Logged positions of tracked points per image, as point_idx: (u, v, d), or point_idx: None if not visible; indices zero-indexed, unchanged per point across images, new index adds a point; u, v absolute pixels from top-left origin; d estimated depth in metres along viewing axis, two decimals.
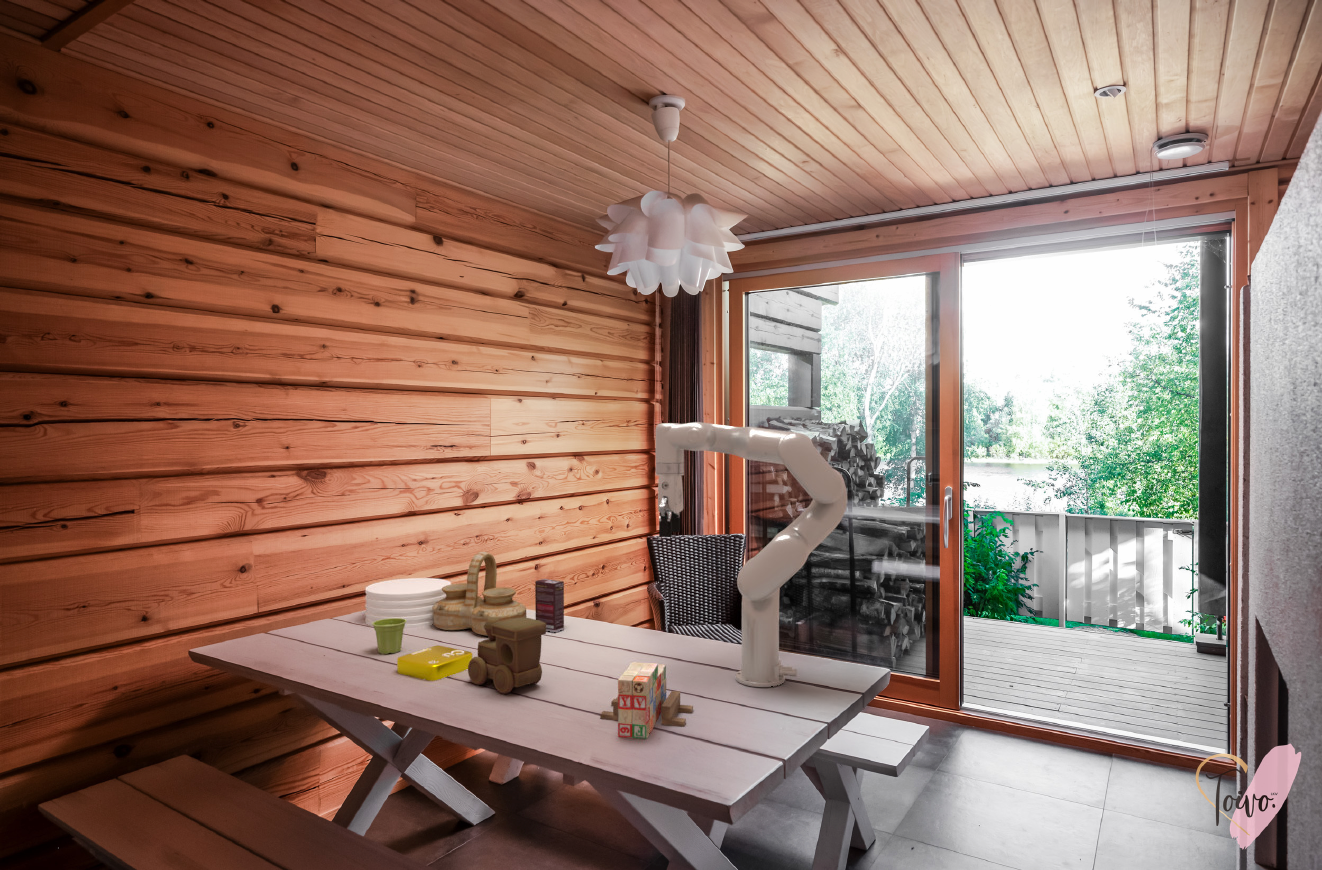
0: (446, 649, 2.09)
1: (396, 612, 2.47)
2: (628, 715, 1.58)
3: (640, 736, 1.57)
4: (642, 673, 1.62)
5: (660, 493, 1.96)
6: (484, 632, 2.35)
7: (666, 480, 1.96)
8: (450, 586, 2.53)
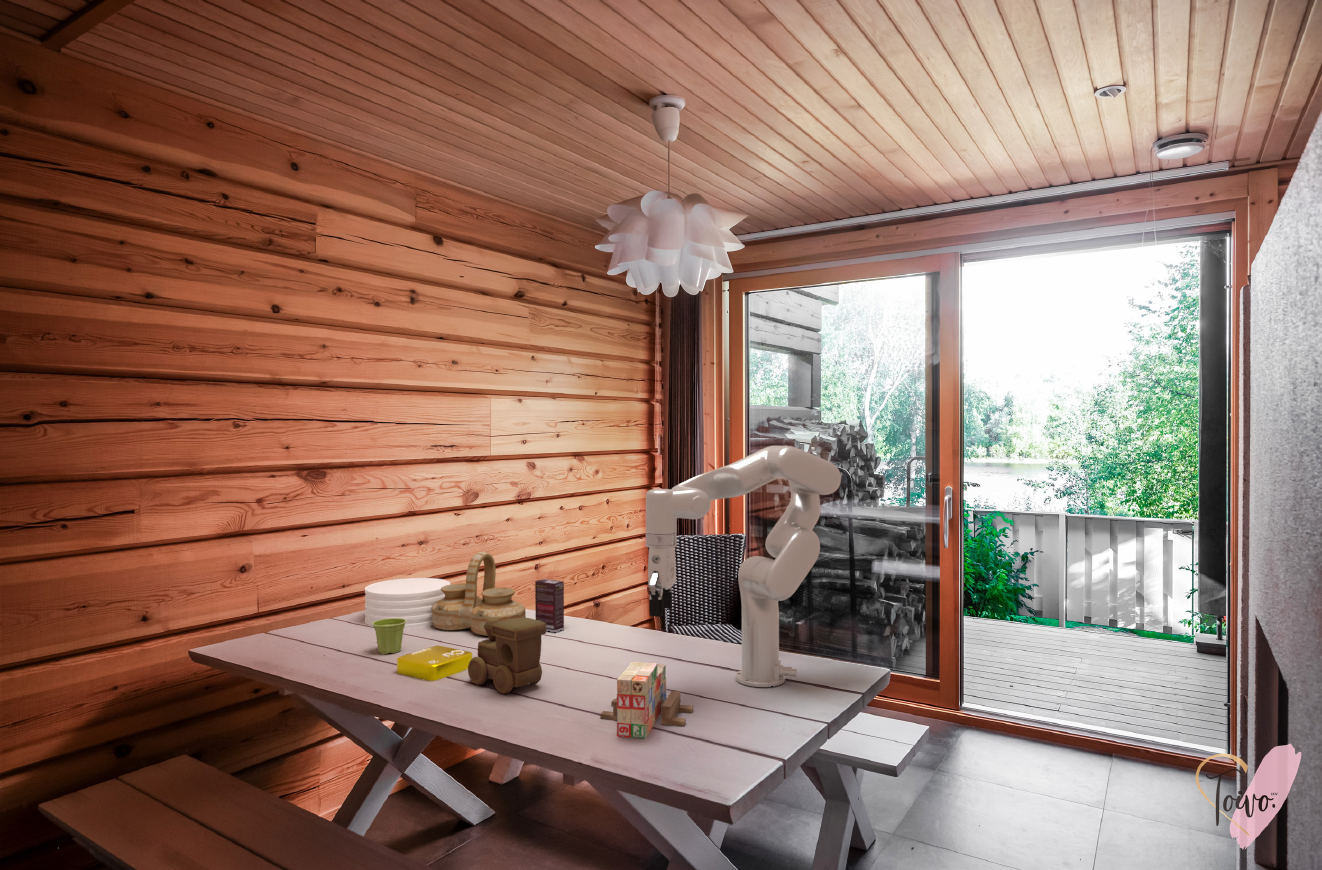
0: (446, 649, 2.09)
1: (395, 612, 2.47)
2: (627, 715, 1.58)
3: (639, 736, 1.57)
4: (641, 673, 1.62)
5: (650, 568, 1.79)
6: (483, 632, 2.35)
7: (657, 553, 1.79)
8: (449, 586, 2.53)
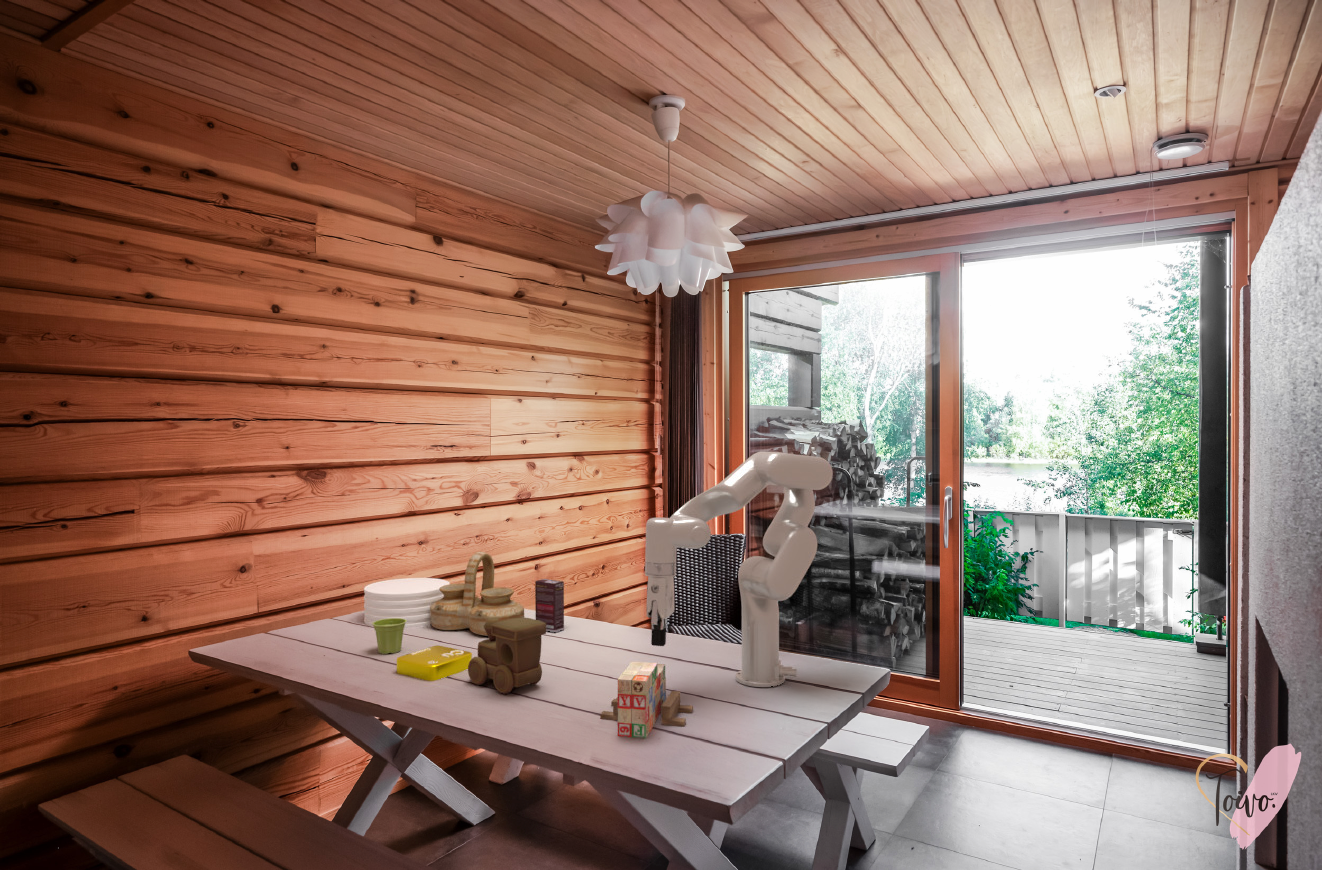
0: (446, 649, 2.09)
1: (395, 612, 2.47)
2: (627, 715, 1.58)
3: (640, 735, 1.58)
4: (642, 672, 1.62)
5: (649, 597, 1.79)
6: (482, 632, 2.35)
7: (656, 583, 1.79)
8: (447, 586, 2.53)
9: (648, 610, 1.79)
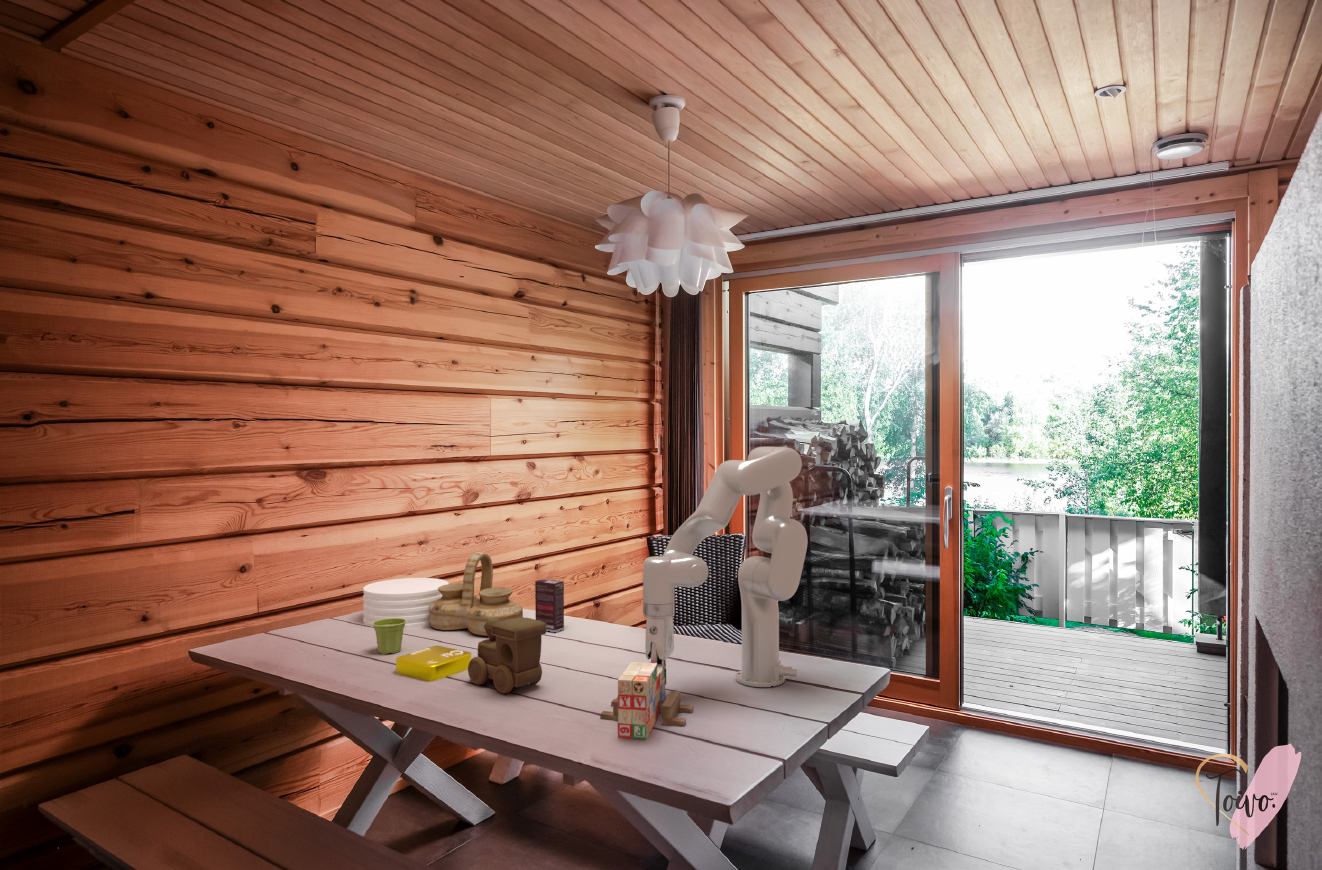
0: (445, 649, 2.09)
1: (394, 612, 2.47)
2: (628, 715, 1.57)
3: (640, 736, 1.57)
4: (642, 673, 1.61)
5: (648, 639, 1.77)
6: (481, 632, 2.35)
7: (654, 624, 1.76)
8: (446, 586, 2.53)
9: (647, 652, 1.77)
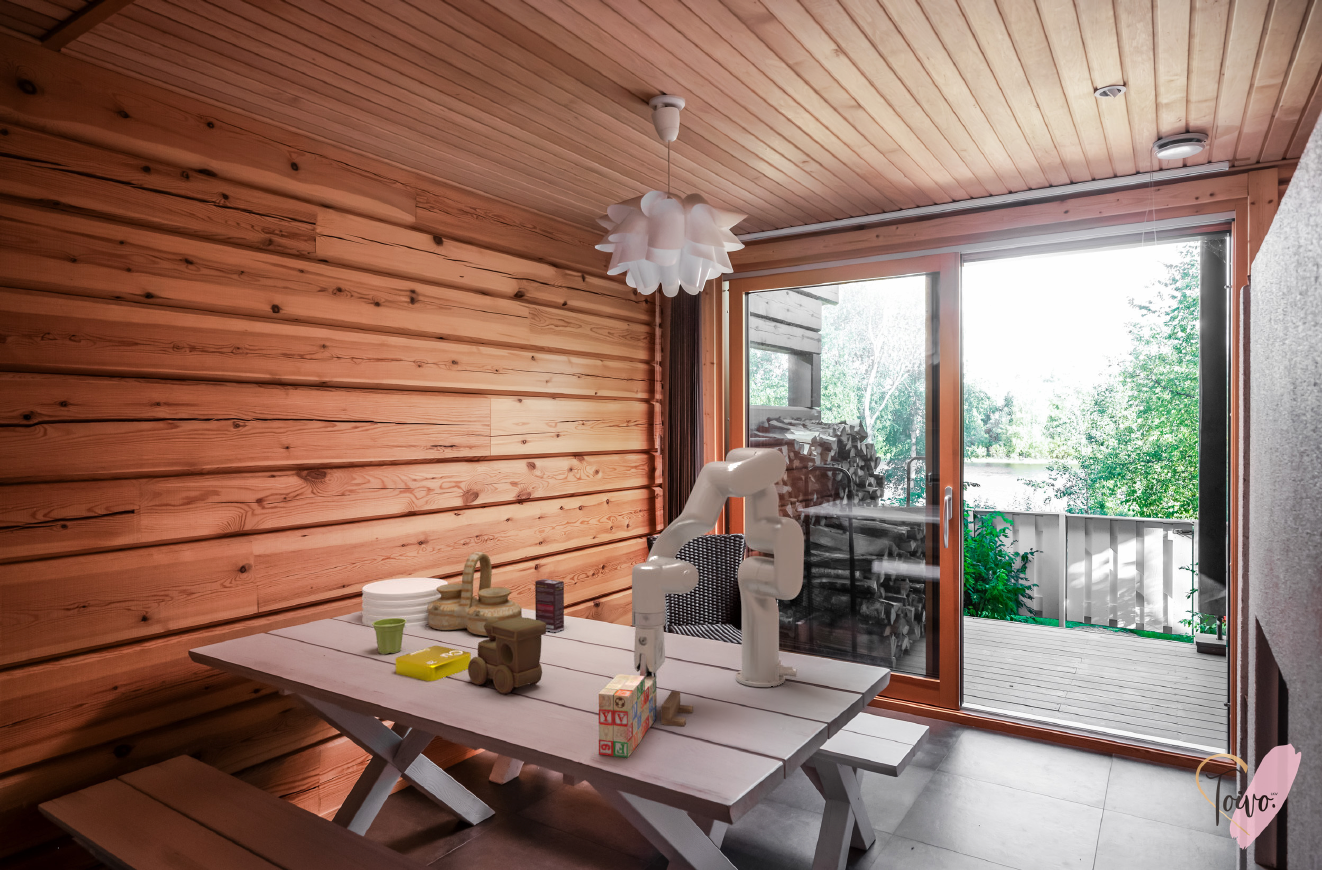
0: (445, 649, 2.08)
1: (393, 612, 2.47)
2: (609, 732, 1.49)
3: (621, 754, 1.48)
4: (626, 686, 1.52)
5: (637, 650, 1.67)
6: (480, 632, 2.35)
7: (644, 634, 1.67)
8: (445, 586, 2.54)
9: (636, 664, 1.67)
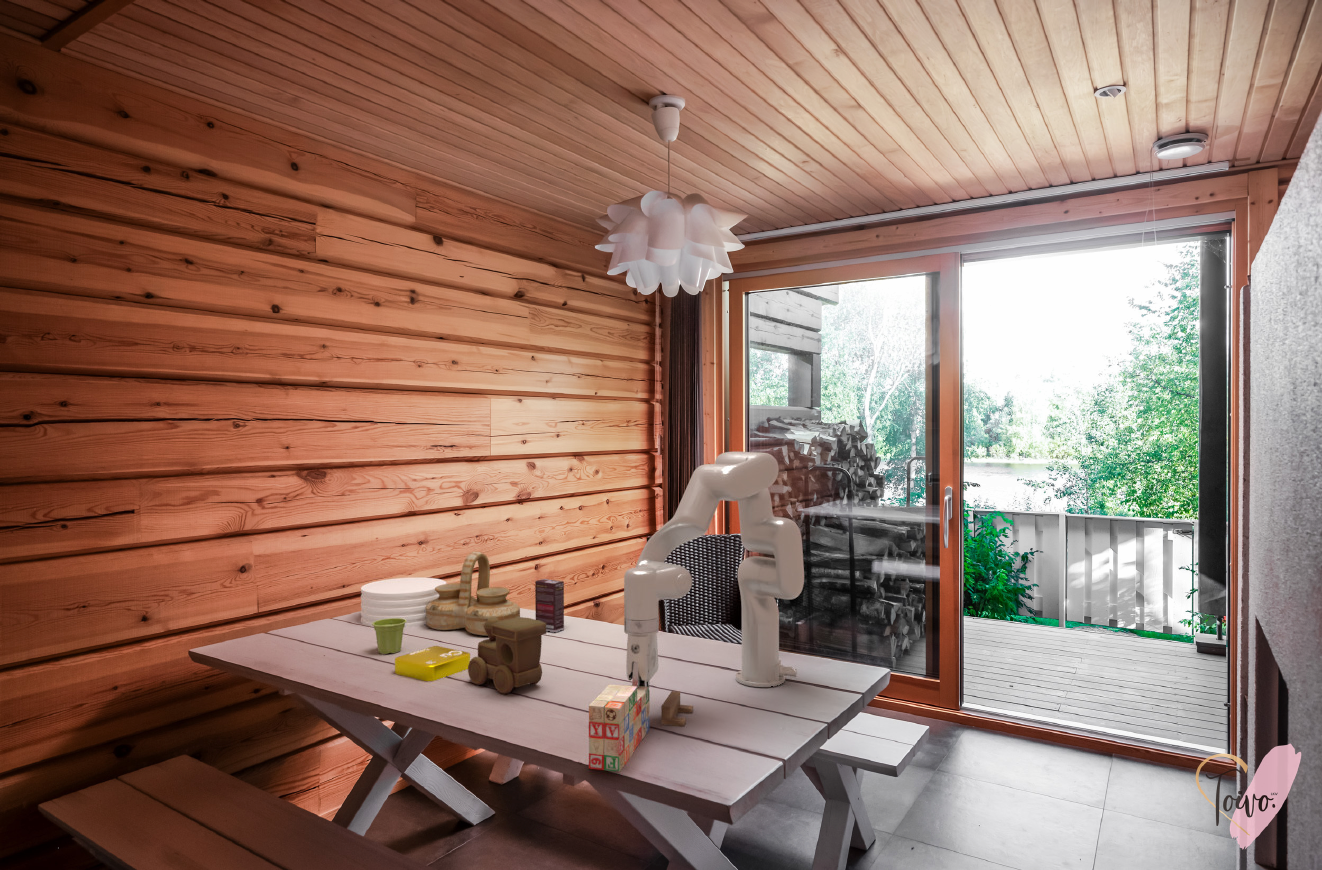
0: (444, 650, 2.08)
1: (391, 611, 2.48)
2: (599, 745, 1.43)
3: (613, 768, 1.42)
4: (617, 698, 1.46)
5: (629, 658, 1.61)
6: (478, 632, 2.35)
7: (636, 642, 1.61)
8: (443, 586, 2.54)
9: (628, 672, 1.61)
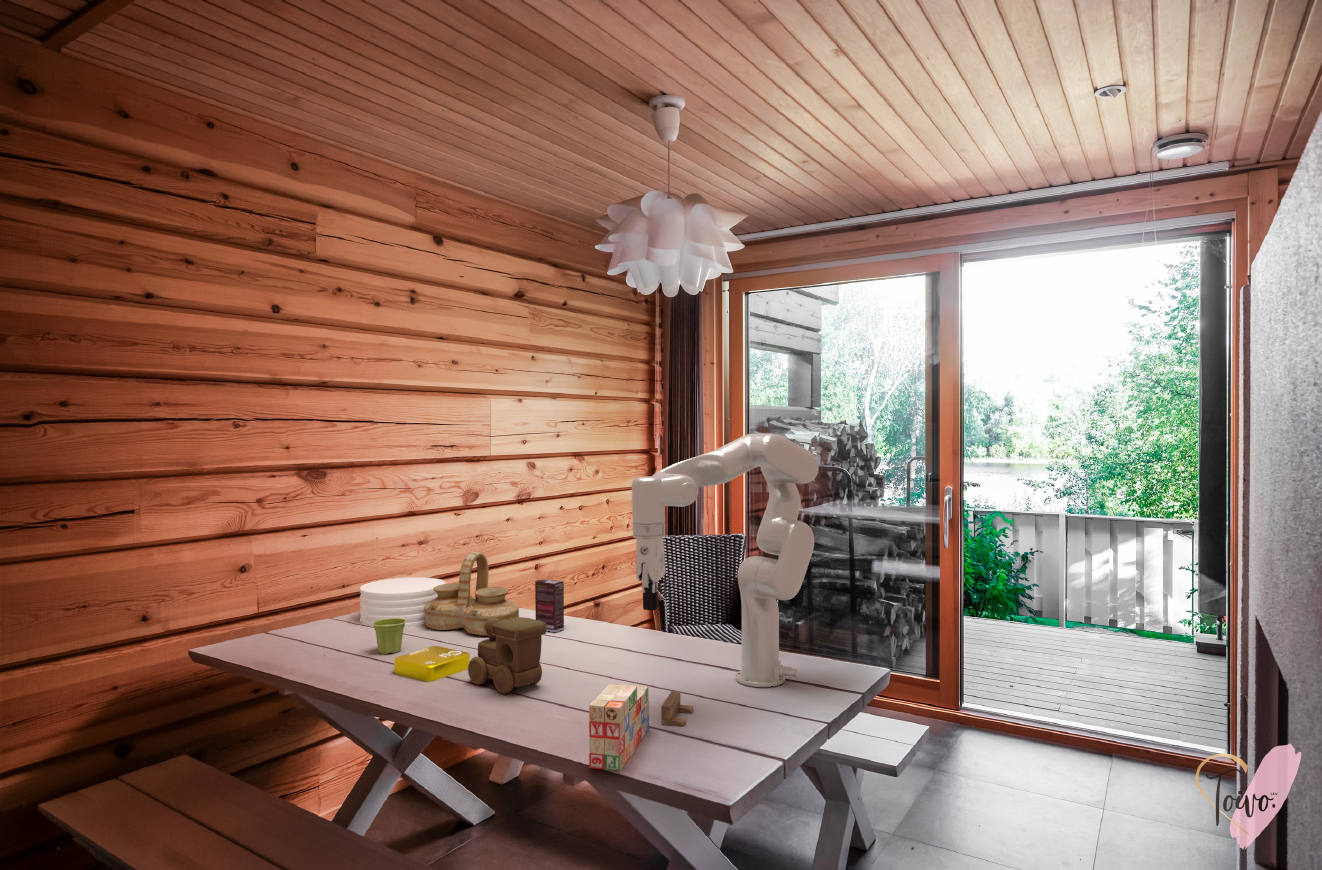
0: (444, 650, 2.08)
1: (390, 611, 2.48)
2: (600, 745, 1.43)
3: (613, 768, 1.42)
4: (617, 697, 1.47)
5: (639, 559, 1.70)
6: (477, 631, 2.36)
7: (645, 544, 1.70)
8: (441, 586, 2.54)
9: (638, 573, 1.70)
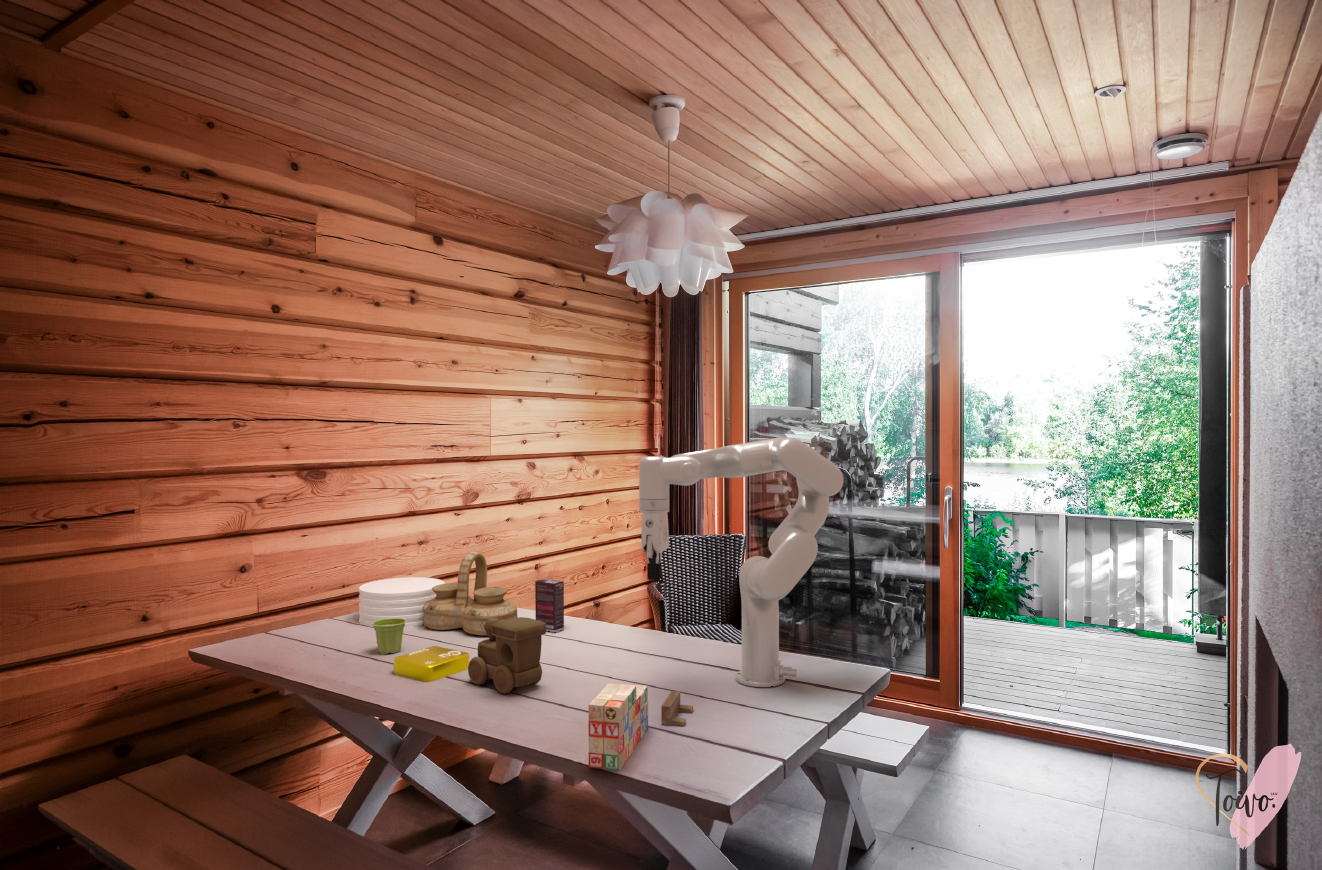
0: (443, 650, 2.08)
1: (389, 611, 2.48)
2: (599, 744, 1.43)
3: (612, 767, 1.43)
4: (616, 697, 1.47)
5: (644, 532, 1.84)
6: (475, 631, 2.36)
7: (650, 517, 1.84)
8: (440, 586, 2.54)
9: (643, 544, 1.84)
